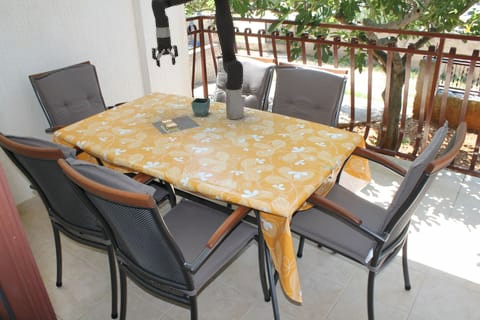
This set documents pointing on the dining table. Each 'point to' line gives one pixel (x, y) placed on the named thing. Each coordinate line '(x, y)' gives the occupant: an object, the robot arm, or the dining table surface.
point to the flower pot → (200, 106)
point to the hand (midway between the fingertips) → (166, 65)
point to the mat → (181, 123)
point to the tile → (169, 125)
